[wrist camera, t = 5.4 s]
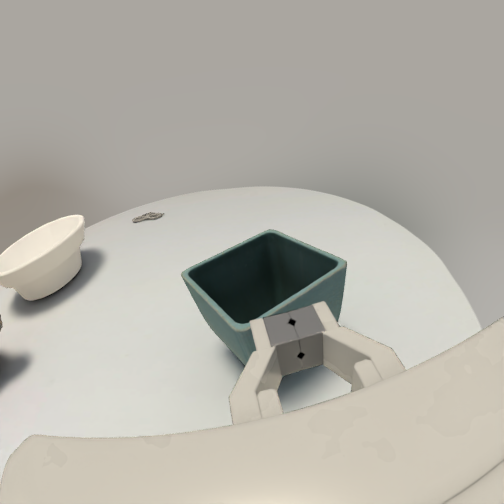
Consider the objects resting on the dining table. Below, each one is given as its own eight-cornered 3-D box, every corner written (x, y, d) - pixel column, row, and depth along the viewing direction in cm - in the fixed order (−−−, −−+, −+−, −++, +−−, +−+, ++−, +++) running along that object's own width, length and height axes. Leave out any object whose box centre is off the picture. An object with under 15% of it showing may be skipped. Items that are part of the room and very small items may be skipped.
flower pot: (209, 351, 26) (177, 271, 22) (284, 306, 30) (270, 226, 26) (264, 414, 20) (238, 333, 15) (348, 351, 23) (350, 261, 19)
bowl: (-4, 329, 34) (-29, 289, 30) (28, 271, 52) (13, 238, 48) (92, 296, 38) (68, 247, 34) (107, 240, 56) (93, 204, 52)
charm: (129, 221, 62) (136, 214, 65) (129, 223, 62) (136, 216, 65) (160, 215, 60) (166, 209, 63) (160, 217, 60) (166, 211, 63)
